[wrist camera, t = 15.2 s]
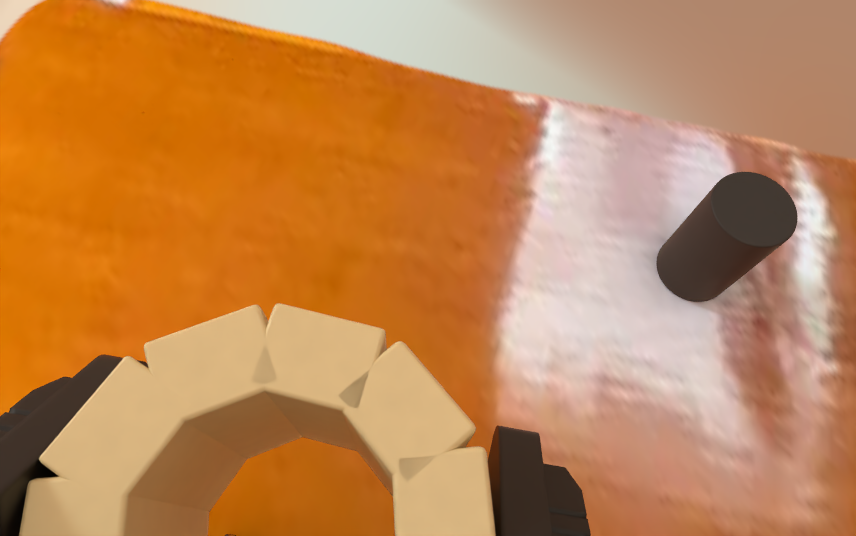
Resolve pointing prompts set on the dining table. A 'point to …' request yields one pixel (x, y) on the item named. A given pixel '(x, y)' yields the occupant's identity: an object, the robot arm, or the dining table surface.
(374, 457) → the beige thick ring
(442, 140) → the dining table surface
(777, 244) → the cylinder
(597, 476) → the dining table surface
